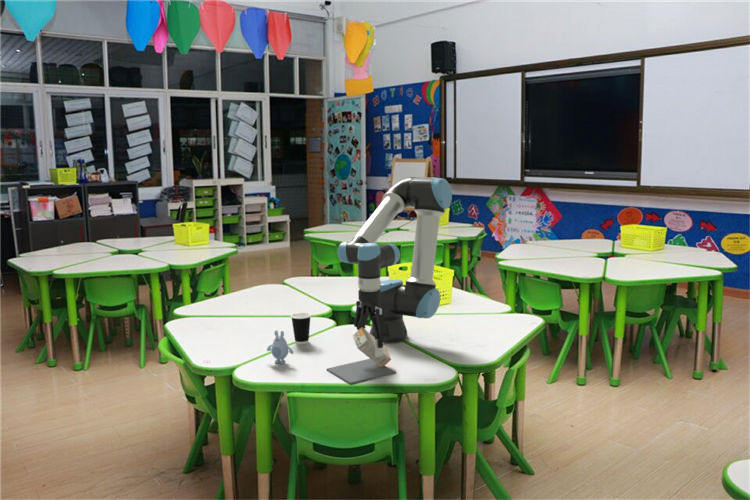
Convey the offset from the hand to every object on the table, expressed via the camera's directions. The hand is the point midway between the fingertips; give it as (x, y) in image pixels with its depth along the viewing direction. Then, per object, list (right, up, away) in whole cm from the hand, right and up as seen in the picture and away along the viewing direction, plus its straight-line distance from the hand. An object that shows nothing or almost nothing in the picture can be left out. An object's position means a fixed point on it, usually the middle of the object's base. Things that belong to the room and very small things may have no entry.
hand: (370, 352), depth 223 cm
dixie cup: (-27, -1, +32) cm, 42 cm away
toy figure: (-32, -5, +9) cm, 34 cm away
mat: (-3, -7, -1) cm, 7 cm away
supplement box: (+5, -3, +3) cm, 6 cm away
